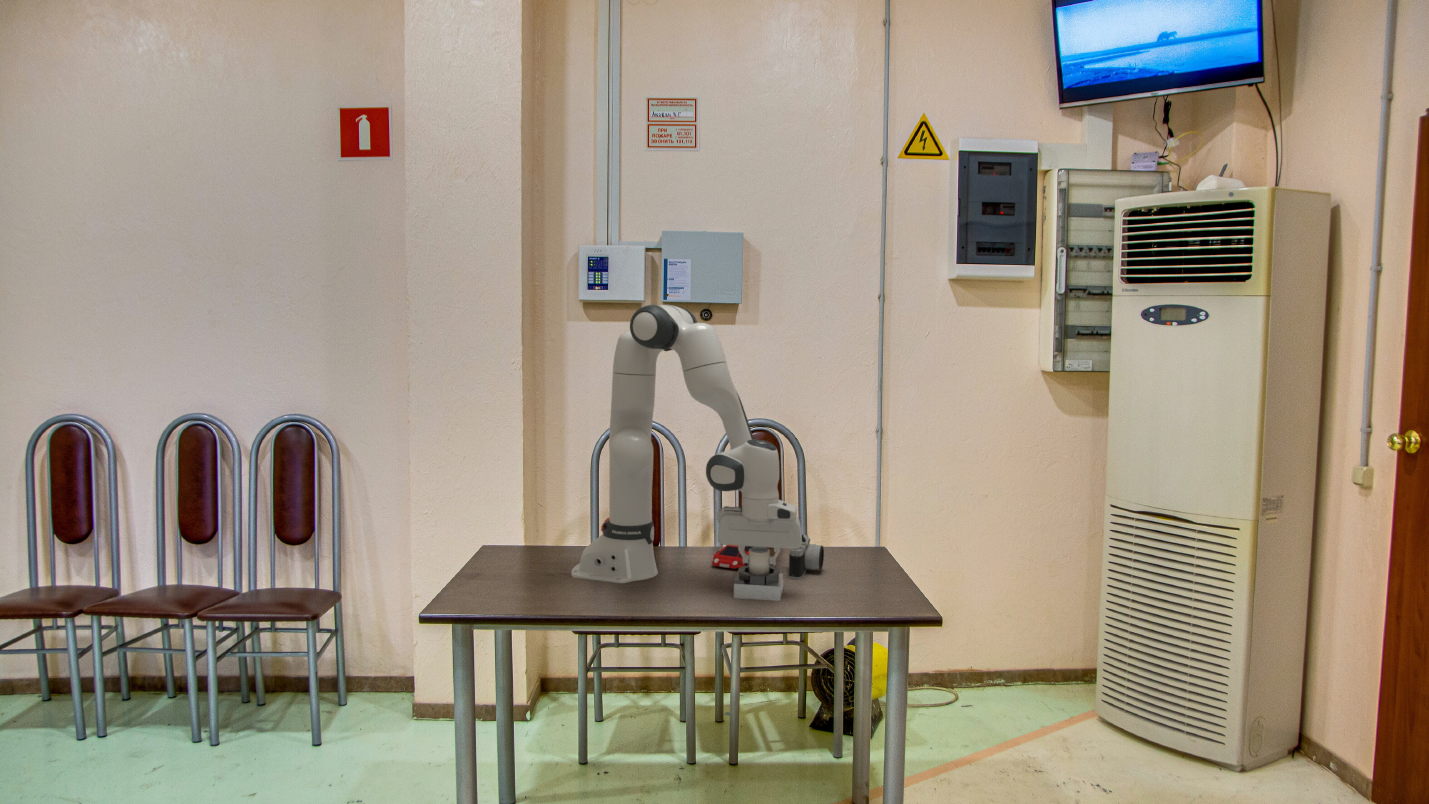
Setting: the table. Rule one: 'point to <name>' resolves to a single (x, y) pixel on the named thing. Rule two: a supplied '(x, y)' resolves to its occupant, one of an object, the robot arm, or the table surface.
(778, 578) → the grey ring holder
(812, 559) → the camera
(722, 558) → the toy car
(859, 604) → the table surface
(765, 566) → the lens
